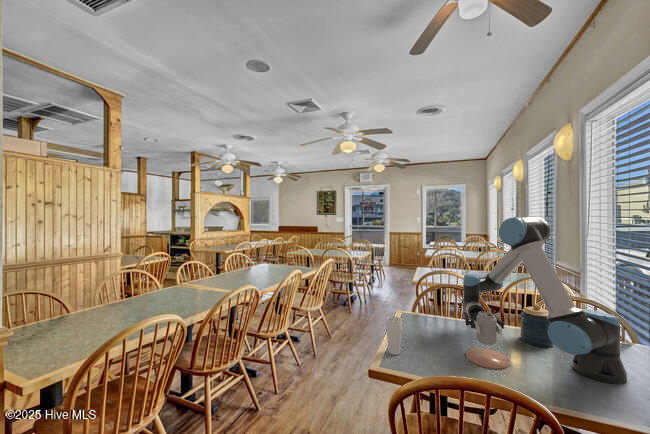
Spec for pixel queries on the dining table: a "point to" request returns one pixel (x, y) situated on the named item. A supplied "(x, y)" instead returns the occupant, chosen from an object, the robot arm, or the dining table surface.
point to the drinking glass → (394, 334)
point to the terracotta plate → (488, 358)
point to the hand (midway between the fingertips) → (489, 331)
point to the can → (487, 328)
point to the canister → (535, 326)
